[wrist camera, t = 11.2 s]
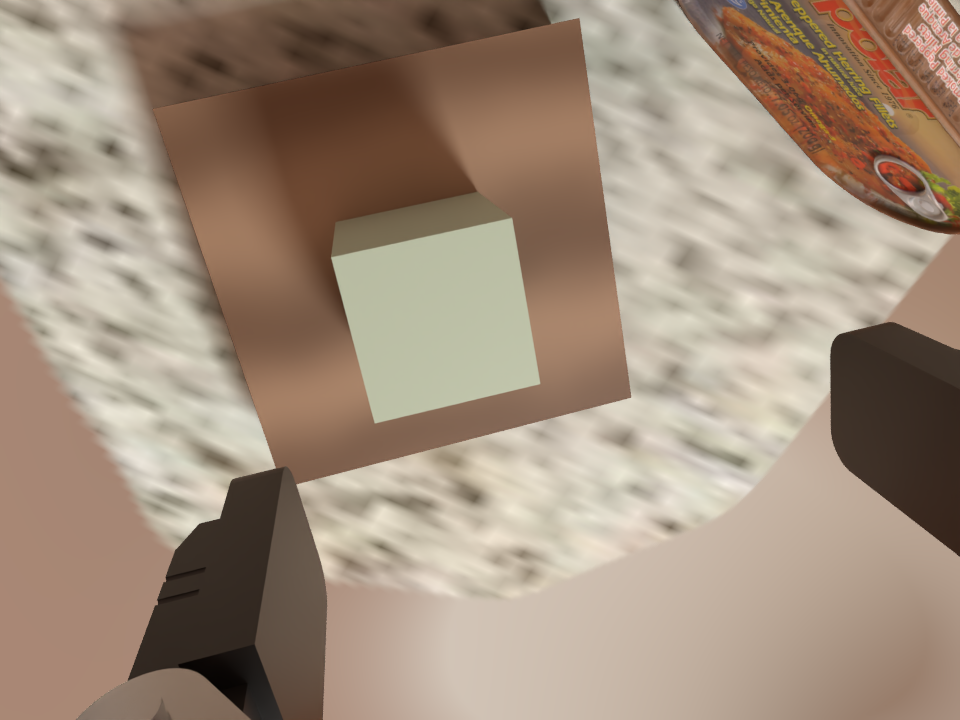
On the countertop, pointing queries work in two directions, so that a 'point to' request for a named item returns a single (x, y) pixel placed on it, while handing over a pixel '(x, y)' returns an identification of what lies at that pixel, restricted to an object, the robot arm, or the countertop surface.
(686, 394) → the countertop surface
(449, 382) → the sage block
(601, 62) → the countertop surface
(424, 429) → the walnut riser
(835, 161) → the tin
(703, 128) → the countertop surface
